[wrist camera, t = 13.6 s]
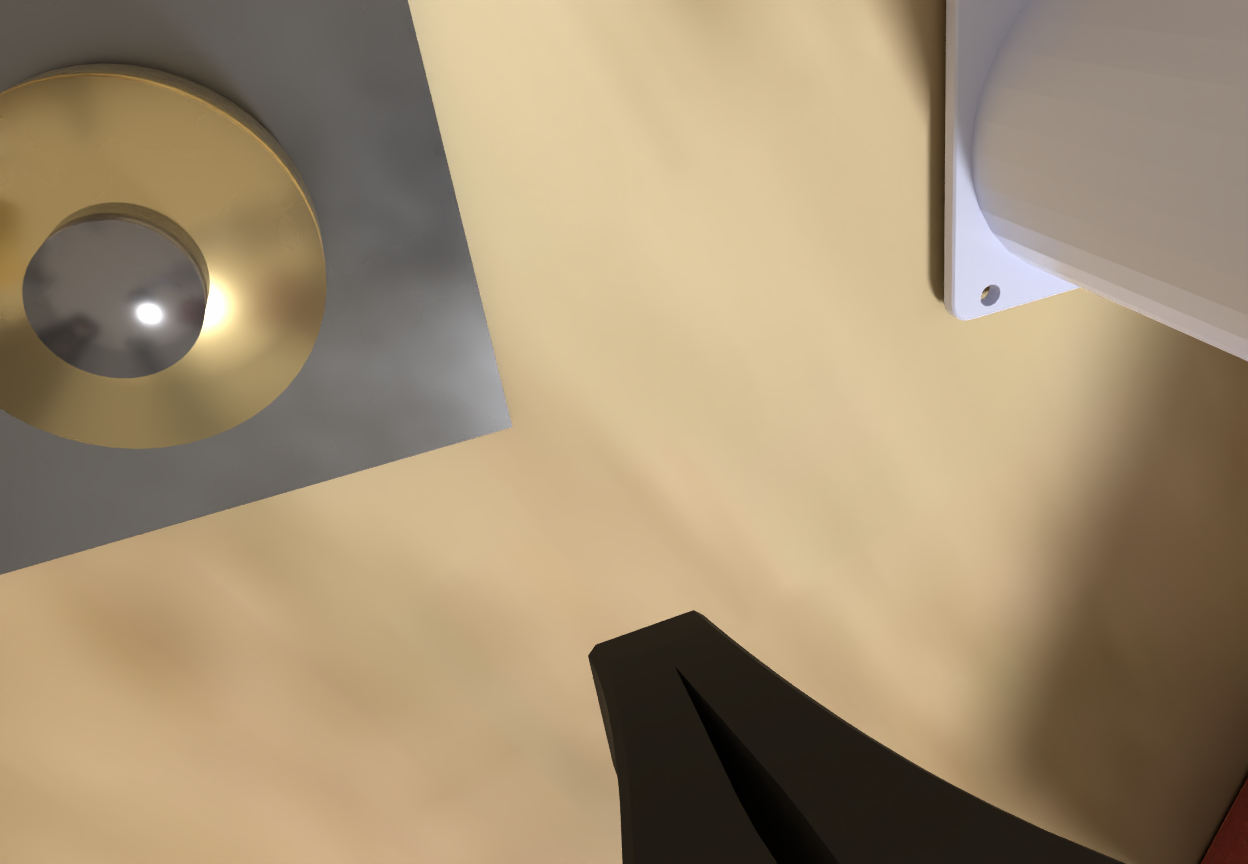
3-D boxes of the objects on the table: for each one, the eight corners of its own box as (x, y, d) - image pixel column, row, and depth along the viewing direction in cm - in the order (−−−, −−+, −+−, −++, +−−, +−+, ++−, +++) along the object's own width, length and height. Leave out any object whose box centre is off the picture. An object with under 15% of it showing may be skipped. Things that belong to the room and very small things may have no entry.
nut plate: (363, -171, 16) (365, -173, 15) (509, 420, 21) (512, 426, 21) (-422, -43, 14) (-436, -43, 13) (-36, 578, 19) (-40, 586, 19)
